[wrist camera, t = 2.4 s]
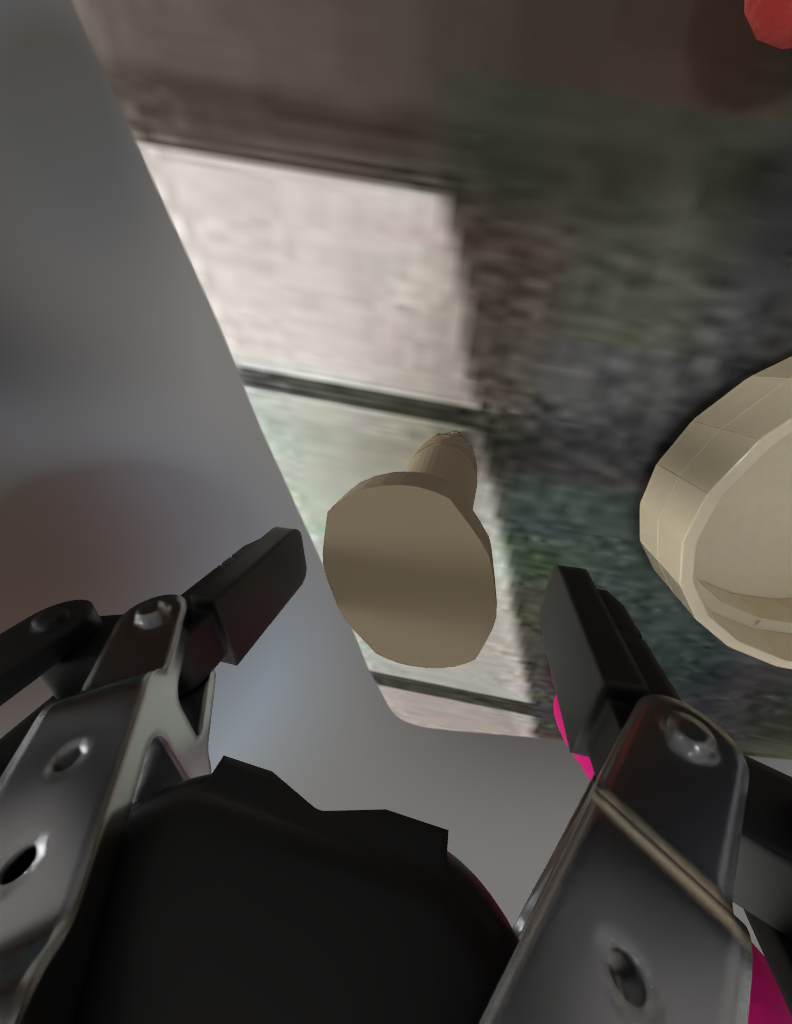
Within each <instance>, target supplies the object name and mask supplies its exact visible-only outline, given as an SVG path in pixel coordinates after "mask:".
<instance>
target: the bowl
mask: <svg viewBox="0 0 792 1024" xmlns="http://www.w3.org/2000/svg"><path fill="white" fill-rule="evenodd" d="M640 542H641V544H642V546H643V548H644V550H645V552H646V554H647V556H648V558H649V560H650V562H651V564H652V566H653V568H654V570H655V571H656V572H657V574H658V575H659V576H660V577H661V578H662V580H663V581H664V582H665V583H666V584H667V586H668V587H669V588H670V589H671V590H672V591H673V593H674V594H675V595H676V596H677V597H678V599H679V600H680V601H681V602H682V603H683V605H684V606H685V607H686V608H687V609H688V611H689V612H690V613H691V614H692V615H693V616H694V618H695V619H696V620H697V621H698V622H700V623H701V624H702V625H703V626H704V627H706V628H707V629H708V630H709V631H710V632H712V633H713V634H714V635H715V636H716V637H717V638H719V639H720V640H721V641H722V642H723V643H725V644H726V645H727V646H729V647H731V648H733V649H735V650H738V651H740V652H743V653H745V654H748V655H750V656H752V657H755V658H757V659H760V660H762V661H765V662H767V663H769V664H772V665H774V666H777V667H782V668H788V669H792V356H791V357H789V358H787V359H785V360H783V361H781V362H779V363H777V364H775V365H773V366H771V367H769V368H767V369H765V370H763V371H760V372H758V373H756V374H754V375H752V376H750V377H749V378H747V379H745V380H744V381H743V382H741V383H740V384H739V385H738V386H736V387H735V388H734V389H732V390H731V391H730V392H728V393H727V394H726V395H724V396H723V397H722V398H720V399H719V400H718V401H717V402H715V403H714V404H713V405H711V406H710V407H709V408H707V409H706V410H705V411H703V412H702V413H701V414H700V415H698V416H697V417H696V418H694V419H693V421H691V422H690V424H689V425H688V426H687V427H686V429H685V430H684V431H683V432H682V433H681V435H680V436H679V437H678V438H677V439H676V441H675V442H674V443H673V444H672V446H671V447H670V448H669V449H668V450H667V452H666V453H665V454H664V455H663V456H662V458H661V459H660V460H659V461H658V463H657V464H656V466H655V468H654V471H653V473H652V476H651V478H650V480H649V483H648V485H647V488H646V490H645V493H644V495H643V497H642V500H641V502H640Z"/></svg>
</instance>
